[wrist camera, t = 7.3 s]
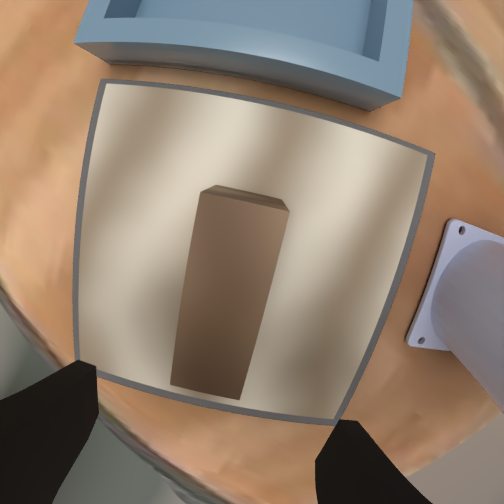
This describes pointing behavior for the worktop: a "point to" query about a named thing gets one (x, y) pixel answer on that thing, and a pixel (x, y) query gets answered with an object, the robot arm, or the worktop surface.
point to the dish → (263, 42)
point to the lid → (238, 247)
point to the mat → (384, 311)
